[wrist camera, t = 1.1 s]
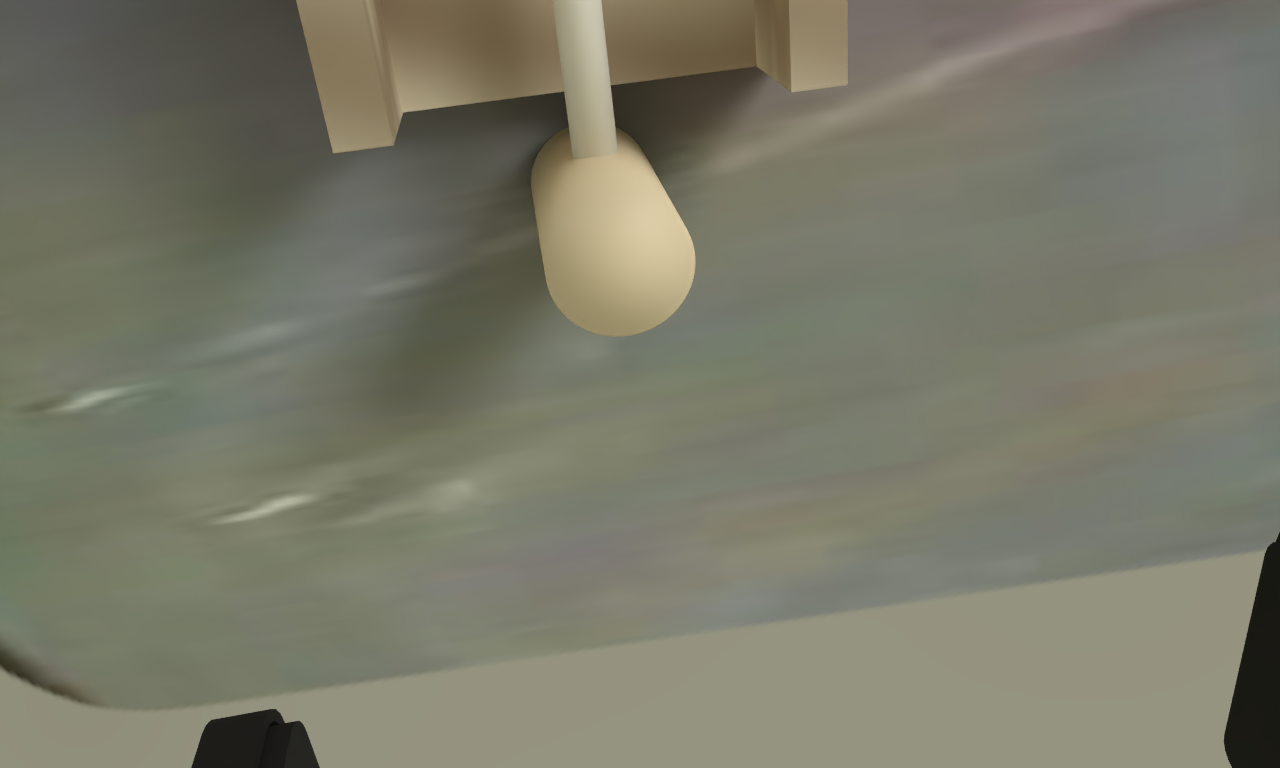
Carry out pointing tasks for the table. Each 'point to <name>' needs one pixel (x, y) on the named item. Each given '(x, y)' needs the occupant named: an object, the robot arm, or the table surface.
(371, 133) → the wooden tray
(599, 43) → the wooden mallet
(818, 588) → the table surface
